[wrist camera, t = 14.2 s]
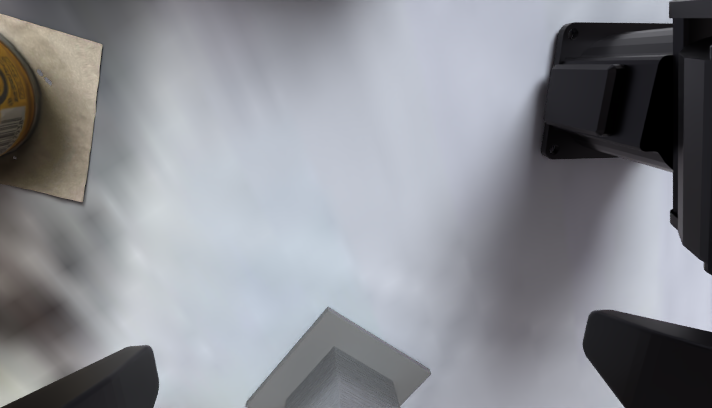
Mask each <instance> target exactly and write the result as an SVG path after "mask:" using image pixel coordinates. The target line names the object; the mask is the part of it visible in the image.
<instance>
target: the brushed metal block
mask: <svg viewBox="0 0 712 408" xmlns="http://www.w3.org/2000/svg"><path fill="white" fill-rule="evenodd" d="M286 408H400V404H399V401H398V397H397V394H396V390H395V387H394V383H393V381H392V380H391V379H389V378H387V377H385V376H384V375H382V374H380V373H379V372H377V371H375V370H374V369H372V368H370V367H369V366H367V365H365V364H363V363H362V362H360V361H358V360H357V359H355V358H353V357H352V356H350V355H348V354H347V353H345V352H343V351H342V350H340V349H338V348H336V347H335V346H334V347H333V348H332V349H331V350H330V351H329V352H328V353H327V354H326V356H325V357H324V358H323V359H322V360H321V361H320V362H319V363H318V364H317V366H316V367H315V368H314V369H313V370H312V371H311V372H310V373H309V375H308V376H307V377H306V378H305V379H304V380H303V381H302V382H301V383H300V385H299V386H298V387H297V388H296V389H295V390H294V391H293V392H292V394H291V395H290V396H289V397H288V398H287V399H286Z"/></svg>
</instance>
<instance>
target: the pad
mask: <svg viewBox="0 0 712 408" xmlns="http://www.w3.org/2000/svg"><path fill="white" fill-rule="evenodd" d="M334 346H335V347H336V348H338V349H340V350H342V351H343V352H345V353H347V354H348V355H350V356H352V357H353V358H355V359H357V360H358V361H360V362H362V363H363V364H365V365H367V366H369V367H370V368H372V369H374V370H375V371H377V372H379V373H380V374H382V375H384V376H385V377H387V378H389V379H391V380H392V381H393V383H394V387H395V390H396V394H397V397H398V401H399V404H400V406H401V405H402V404H403V403H404V402H405V400H406V399H407V398H408V397H409V396H410V395H411V394H412V393H413V392H414V391H415V390H416V389H417V388H418V387H419V386H420V385H421V384H422V383H423V382H424V381H425V380H426V379H427V378H428V377H429V376H430V375H431V372H430V370H429V369H428V368H426V367H425V366H423V365H422V364H420V363H418V362H417V361H415V360H413V359H412V358H410V357H409V356H407V355H405V354H404V353H402V352H400V351H399V350H397V349H396V348H394V347H392V346H391V345H389V344H387V343H386V342H384V341H383V340H381V339H379V338H378V337H376V336H374V335H373V334H371V333H370V332H368V331H366V330H365V329H363V328H361V327H360V326H358V325H357V324H355V323H353V322H352V321H350V320H348V319H347V318H345V317H344V316H342V315H340V314H339V313H337V312H335V311H334V310H332V309H331V308H329V307H327V309H326V310H325V311H324V312H323V313H322V314H321V316H320V317H319V318H318V319H317V320H316V321H315V323H314V324H313V325H312V326H311V327H310V328H309V330H308V331H307V332H306V333H305V334H304V335H303V337H302V338H301V339H300V340H299V341H298V342H297V344H296V345H295V346H294V347H293V348H292V349H291V351H290V352H289V353H288V354H287V355H286V356H285V358H284V359H283V360H282V361H281V362H280V363H279V365H278V366H277V367H276V368H275V369H274V370H273V372H272V373H271V374H270V375H269V376H268V377H267V379H266V380H265V381H264V382H263V383H262V384H261V386H260V387H259V388H258V389H257V390H256V391H255V393H254V394H253V395H252V396H251V397H250V398H249V400H248V401H247V404H246V407H247V408H286V399H287V398H288V397H289V396H290V395H291V394H292V392H293V391H294V390H295V389H296V388H297V387H298V386H299V385H300V383H301V382H302V381H303V380H304V379H305V378H306V377H307V376H308V375H309V373H310V372H311V371H312V370H313V369H314V368H315V367H316V366H317V364H318V363H319V362H320V361H321V360H322V359H323V358H324V357H325V356H326V354H327V353H328V352H329V351H330V350H331V349H332V348H333V347H334Z"/></svg>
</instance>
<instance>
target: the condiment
mask: <svg viewBox="0 0 712 408" xmlns="http://www.w3.org/2000/svg"><path fill="white" fill-rule="evenodd" d="M101 51H102V44H99V43H96V42H93V41H89V40H86V39H82V38H79V37H76V36H73V35H69V34H66V33H63V32H59V31H56V30H52V29H49V28H46V27H42V26H39V25H36V24H33V23H29V22H26V21H22V20H19V19H16V18H13V17H9V16H6V15H3V14H0V184H5V185H10V186H15V187H19V188H23V189H29V190H33V191H37V192H42V193H46V194H49V195H53V196H56V197H60V198H66V199H70V200H75V201H79V202H82V201H83V196H84V187H85V184H86V179H87V171H88V164H89V154H90V150H91V142H92V134H93V124H94V118H95V113H96V96H97V88H98V82H99V69H100V60H101ZM37 69H40V70H41V72H42V73H43V76H39V75H38V73H37ZM44 77H47V78H48V79H49V80H50V81H51V82H52V85H51V86H50V85H49V84H48V83H47V82H46V81H45V79H44ZM13 156H16V158H17V159H13Z"/></svg>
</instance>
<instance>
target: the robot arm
mask: <svg viewBox="0 0 712 408" xmlns="http://www.w3.org/2000/svg"><path fill="white" fill-rule="evenodd" d="M669 18H673V24H659V23H577V22H575V23H569V24H566V25H564V26H563V27H562V28H561V29H560V31H559V34H558V40H557V47H556V54H555V60H554V67H553V68H552V70H551V74H550V81H549V87H548V94H547V101H546V107H545V114H544V120H545V126H544V133H543V140H542V146H541V153H542V155H543V156H545V157H547V158H549V159H579V158H613V157H621V158H624V159H628V160H631V161H635V162H638V163H642V164H645V165H649V166H652V167H655V168H659V169H662V170H666V171H669V172H673V209H672V210H671V211H670V223H671V224H672V225H673V226H674V227H675V228H676V229H677V230H678V233H679V236H680V239H681V242H682V244H683V246H685V247H686V248H687V249H688V250H689V251H690V252H692V253H693V254H694V255H695V256H696V257H697V258H698V259H700V260H701V261H703V262H704V270H705V271H706V272H707V273H709V274H711V275H712V0H673V1H670V2H669ZM570 30H572V31H573V36H572V38H571V39H569V37H568V33H569V31H570ZM553 145H554V146H555V149H554V151H553V152H551V153H550V148H551V147H552V146H553ZM583 349H584V352H585V355H586V356H587V358H588V359H589V361H590V362H591V363H592V365H593V366H594V367H595V369H596V370H597V371H598V373H599V374H600V375H601V377H602V378H603V379H604V381H605V382H606V383H607V385H608V386H609V387H610V389H611V390H612V391H613V393H614V394H615V395H616V397H617V398H618V399H619V401H620V402H621V403H622V404H623V406H624V407H625V408H712V332H709V331H704V330H700V329H695V328H691V327H686V326H682V325H677V324H673V323H668V322H664V321H659V320H655V319H650V318H646V317H641V316H637V315H632V314H628V313H623V312H619V311H614V310H597V311H593V312H591V313H590V315H589V317H588V320H587V325H586V330H585V334H584V339H583ZM158 390H159V378H158V373H157V368H156V363H155V358H154V353H153V350H152V348H151V347H150V346H148V345H142V346H130V347H126V348H124V349H122V350H120V351H118V352H116V353H114V354H111V355H109V356H107V357H105V358H103V359H101V360H99V361H97V362H95V363H93V364H91V365H89V366H87V367H84V368H82V369H80V370H78V371H76V372H74V373H72V374H70V375H68V376H66V377H64V378H62V379H59V380H57V381H55V382H53V383H51V384H49V385H47V386H45V387H43V388H41V389H39V390H37V391H34V392H32V393H30V394H28V395H26V396H24V397H22V398H20V399H18V400H16V401H14V402H12V403H9V404H7V405H5V406H3V407H1V408H153V407H154V404H155V401H156V398H157V395H158Z"/></svg>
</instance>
